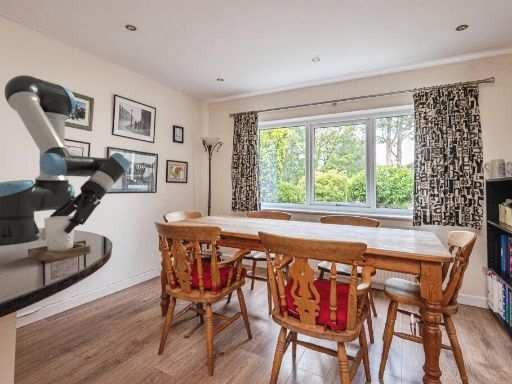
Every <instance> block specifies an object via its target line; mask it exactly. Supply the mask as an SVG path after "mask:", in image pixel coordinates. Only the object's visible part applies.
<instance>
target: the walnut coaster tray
mask: <svg viewBox="0 0 512 384" xmlns="http://www.w3.org/2000/svg"><path fill="white" fill-rule="evenodd" d="M87 254H91V245H88V244H82V243H78V242H73V247H72V248H70V249H67V250H60V251H49V250H47V245H45V246H38V247H33V248H28V249H27V257H28V258H31V259H34V260H39V261H42V262H47V263H51V264H52V263H54V262H59V261H63V260H67V259H71V258H75V257H80V256H83V255H87Z"/></svg>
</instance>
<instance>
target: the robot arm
mask: <svg viewBox="0 0 512 384" xmlns="http://www.w3.org/2000/svg"><path fill="white" fill-rule="evenodd" d="M4 98H5V100H6V102H7V103H8V106H9V107H10V108H11V109H12V110H13V111H15V112H17V114H18V116H19V118H20V119H21V121H22V122H23V124H24V126H25V128H26V129H27V131H28V133H29V135H30V136H31V138H32V140H33V142H34V143H35V145H36V147H37V148H38V150H39V163H38V164H39V175H38V176H37V177H36V178H34V180H32V179H22V180H9V181H1V182H0V245H11V244H13V245H15V244H21V243H28V242H32V241H37V240H39V239H41V240H42V241H45V242H46V235H45V226H43V228H42V229H41V230H39V227H38V225H37V222H36V221H35V212H44V211H54V212H52V213H51V214H50V216H49V217H56V216H71V215H72V213H73V215H72V216H73V217H72V219H69V221H71V222H69V221H68V222H67V223H66V224H65V225H64V226H63V227H62V228H61V229H60V230H59V231H58V232H57V233H56V235H55V236H54V237H53V238H52V239H54V240H55V241H56V242H58V243H61V242H62V241H63V240H64V239H65V238H66V237H67V236H68V234H69V233H70V232H71V231H72V230H73V229H74V230H75V228H76V227H78V226H80V225H81V226H83V225H85V223H86V222H87V221H88V219H89V217H90V216H91V215H92V214H93V212H94V211H95V209H96V208H97V207H98V206H99V205H100V204H101V200H102V199H103V198H104V197H105V195H106V194H107V193H108V192H109V191H110V190H112V189H111V188H112V187H113V186H114V185H115V183H117V182H118V181H119V180H120V179H121V178H122V176H123V175H124V174H125V173H126V172H127V170H129V167H130V166H131V163H130V160H129V159H128V157H127V156H125V155H124V154H122V153H120V152H114V153H112V155H110V156H109V157H96V156H95V157H94V156H86V155H85V156H83V155H74V154H73V155H72V154H71V153H70V152H69V150H68V149H67V148H66V146H65V142H66V141H65V139H66V138H65V136H66V135H65V133H66V132H65V130H66V126H65V124H66V121H67V120H69V119H70V115H72V114H73V113H75V110H76V106H77V104H76V103H77V102H76V98H75V95H74V93H73V92H72V91H71V89H69V88H67V87H65V86H62V85H60V84H57V83H54V82H53V83H52V82H51V81H47V80H43V79H41V78H37V77H35V76H31V75H17V76H15V77H12V78H11V79H9V80H8V81H7V83H6V84H5V87H4ZM71 176H72V177H89V178H88V180H86V181H85V182H84V183H83V184H82V185H81V186H80V187H79V188H80V193H79V194H77V196H76V193H75V188H74V185H73V184H71V183H69V178H67V177H71Z"/></svg>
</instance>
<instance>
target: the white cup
mask: <svg viewBox="0 0 512 384" xmlns="http://www.w3.org/2000/svg"><path fill="white" fill-rule="evenodd" d="M72 217H73V215H69V216H56V217H50V216H49V217H44V221H43V222H44V227H45V235H46V240H45V242H46V246H47V250H49V251H60V250H67V249H70V248H72V247H73V243H74V236H75V228H74V229H73V230H72V231H71V232H70V233H69V234H68V236H67V237H66V238H65V239H64V240H63V241H62V242H61V243H58V242H56V241H55V240H54V239H52V238H53V237H54V236H55V235H56V233H57V232H58V231H59V230H60V229H61V228H62V227H63V226H64V225H65V224H66V223H67V222H68V221H69V219H72ZM69 222H71V221H69Z"/></svg>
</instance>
